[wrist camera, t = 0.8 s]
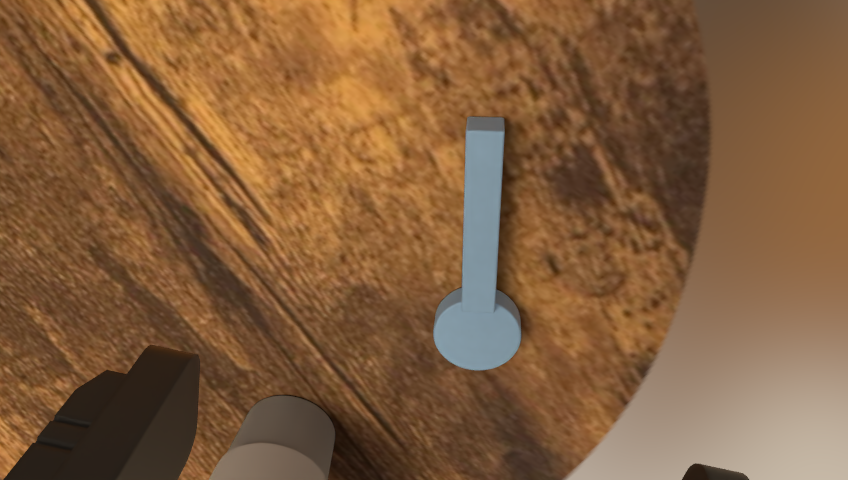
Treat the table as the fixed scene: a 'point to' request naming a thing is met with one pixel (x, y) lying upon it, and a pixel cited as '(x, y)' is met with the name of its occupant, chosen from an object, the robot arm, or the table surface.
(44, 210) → the table surface
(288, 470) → the cup
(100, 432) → the robot arm
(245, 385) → the table surface
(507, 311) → the spoon
